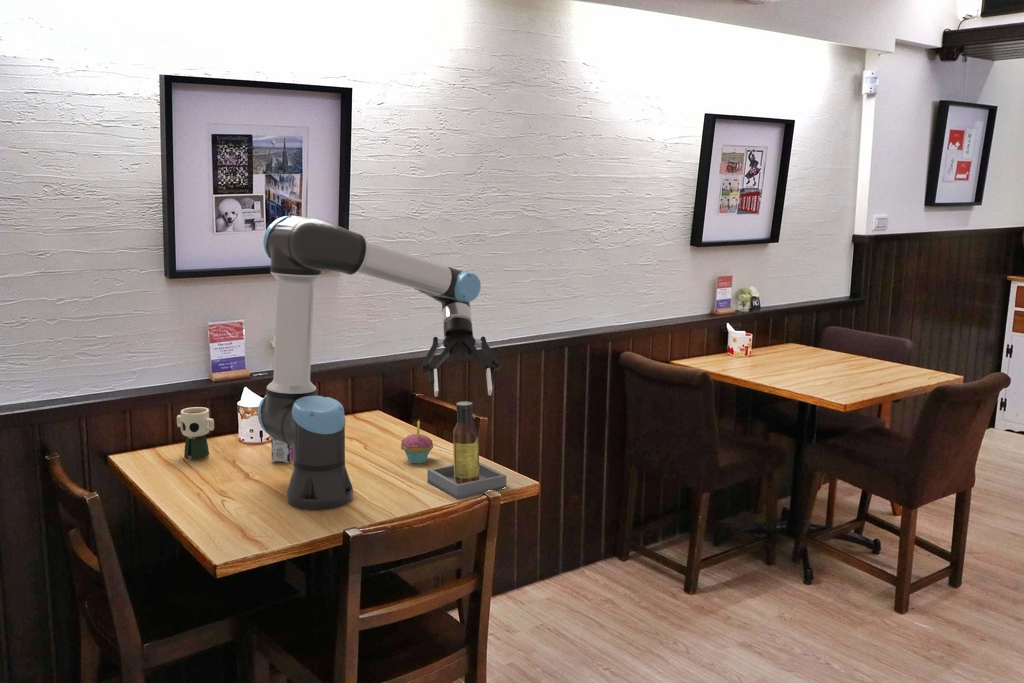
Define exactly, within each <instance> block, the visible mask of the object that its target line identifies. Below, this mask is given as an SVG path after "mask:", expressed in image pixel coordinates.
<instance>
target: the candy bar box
mask: <svg viewBox="0 0 1024 683" xmlns="http://www.w3.org/2000/svg"><path fill="white" fill-rule="evenodd" d="M270 438H271V463H273V464H290V463H291V462H292V460H293V459H294V450H293V447H292V446H290V445H288V444H286V443H284V442H282V441H278V440H276V439H274V438H272V437H271V436H270Z"/></svg>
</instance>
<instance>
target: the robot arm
mask: <svg viewBox="0 0 1024 683" xmlns="http://www.w3.org/2000/svg"><path fill="white" fill-rule="evenodd" d="M263 249H264V252H265V254H266V255H267V257H268V258H269V260H270V274H271V275H272V276H273V277H274V278H275V279H276V298H275V299H276V300H275V326H274V328H275V329H274V352H273V353H274V354H273V355H274V358H273V359H274V360H273V379H272V381H271V382H270V383H268V385H267V386H266V392H265V393H266V394H265V395H264V397H263V399H261V400H260V402H259V405H258V409H257V418H258V423H259V424H260V427H261V428H262V430H263V431H264V432H265V433H266V434H268V436H270V438H271V437H272V438H274V439H276V440H278V441H282V442H284V443H286V444H288V445H290V446H292V447H293V450H294V457H293V470H292V474H291V477H290V480H289V483H288V487H287V490H286V502H287V505H289V506H291V507H293V508H295V509H298V510H303V511H304V510H305V511H327V510H328V511H329V510H333V509H337V508H340V507H344V506H345V505H348V504H349V503H351V502H352V501H353V499H354V488H353V484H352V481H351V479H350V476H349V473H348V470H347V468H346V434H345V433H346V432H345V430H346V427H345V425H346V417H345V410H344V406H343V404H342V403H341V402H340V401H338V400H337V399H334V398H332V397H329V396H326V397H325V396H323V395H317V386H315V384H313V382H312V381H311V367H312V366H311V365H312V364H311V363H312V346H313V345H312V343H313V341H312V340H313V339H312V338H313V323H314V322H313V321H314V320H313V319H314V318H313V317H314V294H315V293H314V292H315V291H314V290H315V281H317V280H318V279H320V277H321V276H322V271H327V272H328V271H330V272H337V273H343V274H346V275H351V276H354V275H356V273H359V274H362V275H366V276H369V277H373V278H376V279H380V280H383V281H386V282H391V283H395V284H398V285H402V286H404V287H409V288H413V289H414V290H415V291H419V292H420V293H422V294H424V295H426V296H428V297H429V298H432V299H434V300H435V301H437V302H439V303H440V304H441V311H442V322H443V323H442V324H443V336H444V337H443V338H442V339H441V338H438V337H437V336H434V337H433V338H432V345H431V346H430V349H429V350H428V352H427V354H426V356H425V357H424V360H423V362H422V364H421V372H423V373H425V372H426V373H427V374H428V380H429V381H428V382H429V384H431V385H432V384H433V391H434V397H435V398H436V397H439V382H438V380H439V378H438V369H439V368H440V367H441V365H442V364H443V363H444V362H445V361H446V360H447V359H448V358H449V357H450V356H451V355H453V356H454V357H455V356H457V357H458V356H463V357H464V356H467V355H468V356H469V357H470V358H473V359H474V360H475V361H476V362H477V363H478V364H479V365H480V366H481V367H483V368H484V369H485V370H486V371H485V376H486V385H487V395H488V396H492V394H493V383H495V382H496V373H495V372H498V371H500V369H501V366H502V363H501V361H500V360H499V359H498V357H497V356H496V354H495V353H494V352H493V350H492V349H491V348H490V346H489V345H488V342H487V339H486V337H485V336H481V337H480V338H477V339H476V338H475V337H474V333H473V332H474V331H473V323H472V312H471V304H470V302H473V301H474V300H476V299H477V298H478V297H479V294H480V293H481V292H480V291H481V287H482V285H481V280H480V278H479V277H478V275H477V274H475V273H474V272H470V271H468V270H460V269H456V268H455V267H454V268H453V267H450V266H447V265H444V264H441V263H437V262H435V261H432V260H428V259H425V258H422V257H419V256H416V255H413V254H409V253H406V252H403V251H400V250H397V249H394V248H390V247H387V246H384V245H381V244H377V243H375V242H371V241H368V240H367V239H366V237H365V236H364V235H363V234H360V233H357V232H354V231H352V230H349V229H346V228H344V227H342V226H339V225H337V224H335V223H333V222H330V221H328V220H325V219H321V218H318V217H316V218H315V217H306V216H300V215H296V214H295V215H285V216H281V217H279V218H276V219H275V220H274V221H273V222H272V223H270V224H269V226H268V227H267V228H266V230H265V232H264V235H263ZM476 345H477V346H478V348H480V349H481V351H482V353H483V354H482V353H481V352H480V351H479V350H478V349H477V347H475V346H476ZM441 346H443V347H444V350H442V352H441V353H439V355H438V356H437V357H436V358H435V359H434V361H433V362H432V360H433V358H434V357H435V355H436V352H437V350H438V349H439V348H441ZM484 355H485V356H484ZM431 362H432V363H431Z"/></svg>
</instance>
